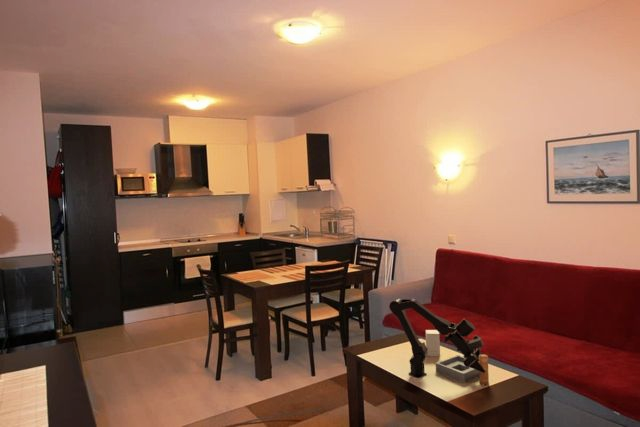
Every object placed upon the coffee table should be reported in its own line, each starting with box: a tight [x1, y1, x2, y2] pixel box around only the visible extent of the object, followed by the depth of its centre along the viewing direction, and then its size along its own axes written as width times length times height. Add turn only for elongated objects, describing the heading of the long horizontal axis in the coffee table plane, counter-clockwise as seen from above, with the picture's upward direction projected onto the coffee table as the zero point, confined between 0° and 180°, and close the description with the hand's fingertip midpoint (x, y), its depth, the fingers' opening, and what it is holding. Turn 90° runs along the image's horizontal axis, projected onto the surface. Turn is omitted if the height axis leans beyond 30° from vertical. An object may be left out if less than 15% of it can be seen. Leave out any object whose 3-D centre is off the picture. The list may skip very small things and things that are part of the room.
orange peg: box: [478, 354, 490, 386], centre depth 203 cm, size 4×4×13 cm
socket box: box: [435, 354, 479, 384], centre depth 216 cm, size 17×17×4 cm
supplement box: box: [425, 329, 441, 357], centre depth 243 cm, size 7×7×13 cm
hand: (485, 368), depth 203 cm, fingers open, 9 cm apart
